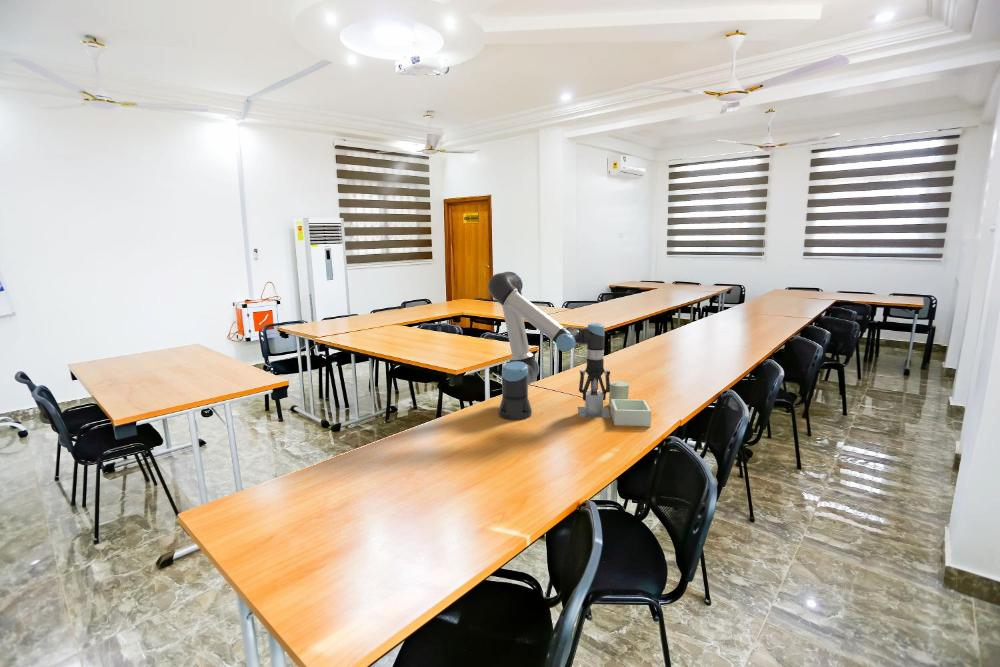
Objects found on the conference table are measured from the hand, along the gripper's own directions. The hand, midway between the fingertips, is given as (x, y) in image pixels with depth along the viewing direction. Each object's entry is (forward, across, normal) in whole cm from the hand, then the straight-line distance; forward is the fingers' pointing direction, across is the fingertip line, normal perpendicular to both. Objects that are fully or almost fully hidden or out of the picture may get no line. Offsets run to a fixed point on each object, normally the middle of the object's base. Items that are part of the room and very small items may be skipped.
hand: (593, 406), depth 227 cm
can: (+3, +13, +8) cm, 16 cm away
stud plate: (+3, 0, 0) cm, 3 cm away
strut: (+3, 0, 0) cm, 3 cm away
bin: (+3, +14, -10) cm, 17 cm away
